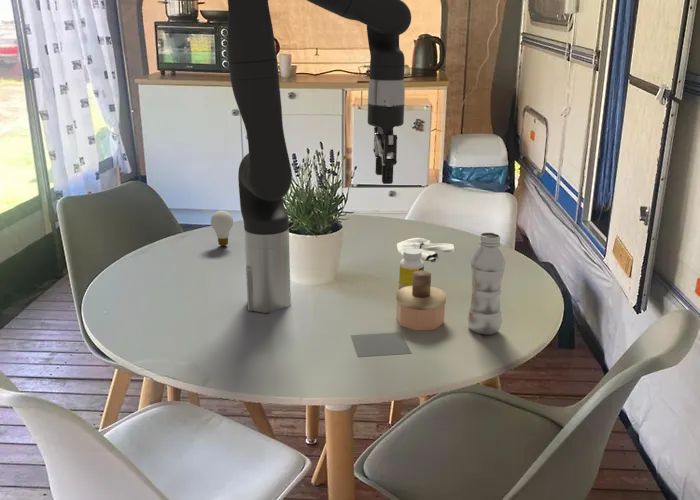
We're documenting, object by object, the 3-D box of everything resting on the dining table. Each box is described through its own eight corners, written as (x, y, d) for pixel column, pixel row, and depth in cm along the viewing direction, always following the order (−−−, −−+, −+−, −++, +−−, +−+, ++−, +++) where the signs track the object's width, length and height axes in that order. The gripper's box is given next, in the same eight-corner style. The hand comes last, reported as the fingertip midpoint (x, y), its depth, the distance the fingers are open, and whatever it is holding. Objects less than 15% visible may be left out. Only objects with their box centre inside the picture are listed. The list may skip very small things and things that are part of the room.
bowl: (403, 333, 134) (403, 310, 132) (393, 315, 142) (394, 292, 141) (447, 330, 135) (448, 307, 133) (435, 312, 143) (436, 290, 142)
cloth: (412, 237, 195) (412, 229, 195) (482, 252, 183) (482, 243, 182) (372, 256, 180) (372, 247, 179) (445, 273, 168) (446, 264, 167)
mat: (357, 359, 123) (357, 356, 123) (350, 338, 132) (350, 335, 132) (411, 356, 125) (411, 353, 125) (401, 334, 133) (401, 332, 133)
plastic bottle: (493, 341, 131) (501, 242, 124) (461, 333, 134) (467, 236, 128) (505, 329, 136) (513, 233, 129) (473, 321, 139) (480, 228, 133)
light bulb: (232, 250, 182) (230, 213, 179) (210, 249, 182) (208, 213, 179) (236, 243, 188) (234, 208, 185) (214, 242, 188) (212, 207, 185)
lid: (402, 311, 132) (402, 284, 130) (391, 291, 141) (392, 266, 139) (452, 308, 133) (453, 281, 131) (438, 289, 142) (439, 264, 141)
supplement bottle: (421, 297, 151) (423, 255, 148) (397, 295, 152) (398, 254, 149) (423, 288, 156) (425, 248, 153) (400, 286, 157) (401, 246, 154)
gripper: (363, 98, 147) (361, 172, 152) (373, 105, 133) (371, 186, 138) (397, 98, 147) (395, 172, 153) (411, 105, 134) (407, 186, 139)
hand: (383, 179), depth 145 cm, fingers open, 8 cm apart
